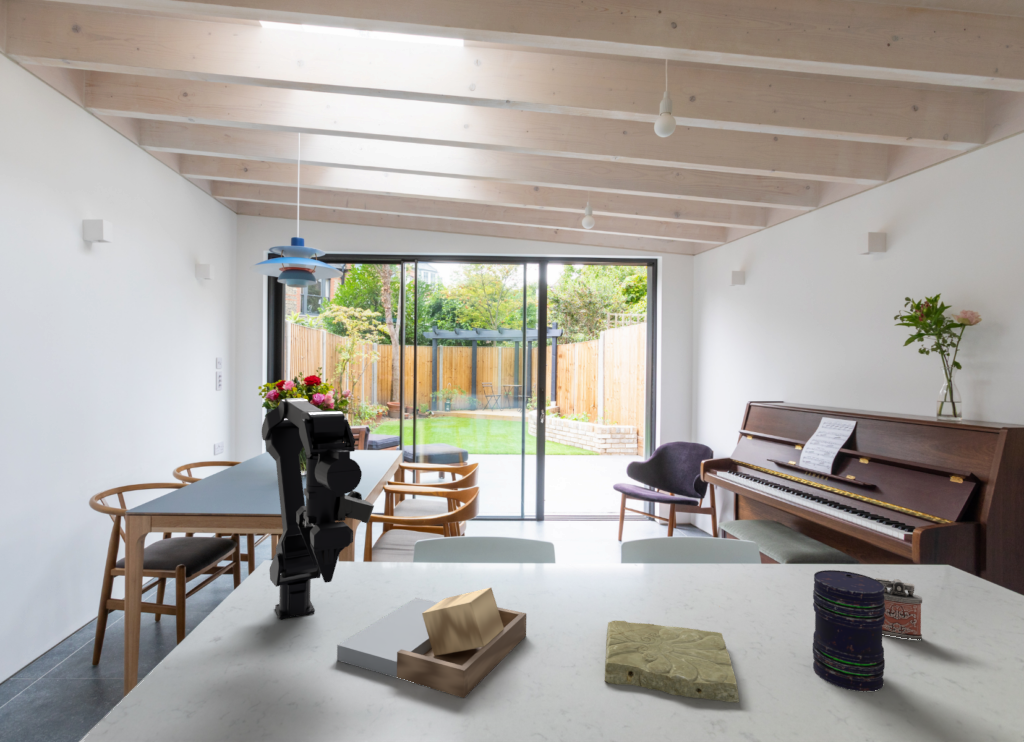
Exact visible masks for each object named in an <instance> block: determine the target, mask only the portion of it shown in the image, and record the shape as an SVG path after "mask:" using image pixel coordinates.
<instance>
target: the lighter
mask: <svg viewBox="0 0 1024 742" xmlns="http://www.w3.org/2000/svg"><path fill="white" fill-rule="evenodd" d="M874 579H875V580H878V581H879V582H881V583H882V584H883V585H884V587H885V588H884V594H883V595H884V603H885V613H884V616H885V620H884V624H883V625H882V634H884V635H890V636H896V637H901V638H907V639H909V638H911V639H917V640H918V639H919V640H920V639H922V640H923V634H922V603H923V597H922V596H920V595H917V594H914V593H915V584H913V583H909V582H908V583H907V582H902V580H900V579H897V578H896V579H893V580H890V579H886V578H879V577H875V578H874ZM888 589H889V590H888ZM906 591H907V592H906Z"/></svg>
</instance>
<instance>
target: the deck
mask: <svg viewBox="0 0 1024 742" xmlns="http://www.w3.org/2000/svg"><path fill="white" fill-rule="evenodd" d="M438 602H439V601H433V600H429V599H424V598H420V597H414V598H412V599H411V600H410V601H408V602H406V603H405V604H403V605H401V606H400V607H398V608H396V609H395V610H392V611H391V612H389V613H388V614H386V615H385V616H383V617H381V618H379V619H378V620H376V621H375V622H373V623H371V624H369V625H368V626H366V627H365V628H363V629H362V630H359V631H358V632H356V633H355V634H353V635H351V636H350V637H348V638H346V639H345V640H343V641H342V642H340V643H338V644H337V645H336V648H337V649H336V651H337V652H336V653H337V654H336V660H337V661H338V662H342V663H346V664H349V665H353V666H354V667H355V666H356V667H358V666H359V668H362V667H363V668H362V669H365V668H367V669H366V670H368V669H370V670H369V671H372V672H375V671H376V673H378V672H380V673H379V674H382V673H383V675H385V674H387V675H386V676H388V675H391V676H390V677H392V676H394V677H393V678H395V677H397V652H398V651H399V650H401V649H402V650H406V651H409V652H413V653H417V654H420V655H423V654H424V653H426V652H427V651H428V650H430V649H431V648H432V647H431V643H430V640H429V636H428V633H427V629H426V626H425V622H424V619H423V615H422V613H423V612H425V611H426V610H428V609H429V608H431V607H432V606H434V605H435V604H437V603H438Z"/></svg>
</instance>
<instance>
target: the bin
mask: <svg viewBox="0 0 1024 742" xmlns="http://www.w3.org/2000/svg"><path fill="white" fill-rule="evenodd" d="M497 607H498V611H499V614H500V617H501V620H502V624H503V627H504V629H503V630H502V631H501V632H500V633H499V634H498V635H497V636H495V637H494V638H493V639H492V640H491V641H490V642H489V643H488V644H487V645H485V646H484V647H479V648H474V649H469V650H463V651H458V652H453V653H447V654H442V655H436V656H434V654H433V650H432V648H431V649H430V650H428V651H427V652H426V653H424V654H423V655H420V654H417V653H413V652H409V651H406V650H402V649H401V650H399V651H398V652H397V677H398V678H401V679H400V680H402V679H405V680H408V681H411V682H410V683H412V682H414V683H413V684H415V683H416V685H419V684H420V685H419V686H422V685H424V686H423V687H425V686H427V687H426V688H429V687H430V688H429V689H433V690H435V689H436V690H435V691H439V690H440V691H439V692H442V693H445V692H446V694H450V695H451V696H455V697H460V698H462V699H465V698H466V697H467V696H468V695H469V694H470V693H471V692H472V691H473V690H474V688H476V687H477V686H478V685H479V684H480V683H481V681H483V680H484V679H485V678H486V676H488V675H489V674H490V673H491V672H492V671H493V669H495V667H497V665H499V663H501V661H503V659H505V657H507V656H508V655H509V654H510V653H511V651H513V650H514V648H516V647H517V646H518V645H519V644H520V642H521V641H522V640H524V639H525V638H526V636H527V613H526V612H521V611H516V610H513V609H508V608H503V607H499V606H497ZM398 678H397V679H398ZM405 680H404V681H405ZM408 681H407V682H408Z"/></svg>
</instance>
